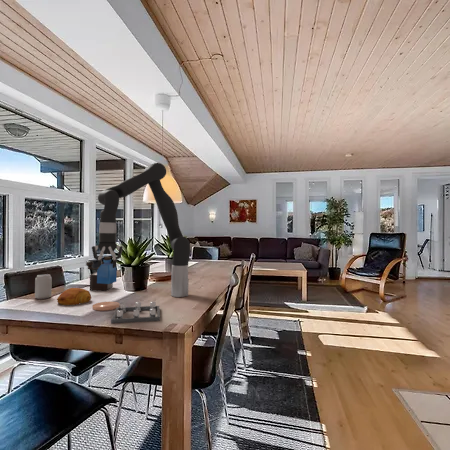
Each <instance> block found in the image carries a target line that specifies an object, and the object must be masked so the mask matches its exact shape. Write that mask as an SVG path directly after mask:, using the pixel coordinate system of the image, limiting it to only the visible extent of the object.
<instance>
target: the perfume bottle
mask: <svg viewBox="0 0 450 450" xmlns="http://www.w3.org/2000/svg"><path fill="white" fill-rule="evenodd" d="M111 258H112V256H103V259H102V262H103V264H101V265H100V267H99V268H98V267H97V268H98V269H96V270H97V283H101V284H111V283H113V284H114V283H116V282H117V275H118V274H117V272H118V269H117V266H116V267H115V268H113V263H111V262H112V259H111Z"/></svg>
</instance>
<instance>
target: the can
mask: <svg viewBox="0 0 450 450" xmlns="http://www.w3.org/2000/svg"><path fill="white" fill-rule="evenodd" d="M52 281H53V280H52V276H51V274H48V273H47V274H37V275H36V277H35V280H34V298H35V299H37V300H43V299H44V300H45V299H49V298H51V296H52V288H53V287H52V283H53V282H52Z"/></svg>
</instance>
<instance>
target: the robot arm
mask: <svg viewBox="0 0 450 450" xmlns="http://www.w3.org/2000/svg"><path fill="white" fill-rule="evenodd" d="M166 175H167V168H166V166H165V165H164V164H162V163H161V162H154V163H152V164H150V165H148V166H146V167H145V168H144V171H143V172H141V173H139V174H137V175H134V176H132V177H129V178H127V179H126V180H124V181H122V182H119V183H118V184H116V185H114V186H111V187H109V188H106V189H104V190H102V191H100V192H99V194H98V196H97V200H98V203H100V204H101V205H104V208H103V210H100V214H99V229H98V232H99V233H98V234H99V236H98V238H99V239H98V245H93V246H91V250H92V256H93V259H94V260H97V268H98V267H100V265H101V264H102V262H103V259H102V258H103V257H104V255H105V254H109V255H111V258H112V264H113V268H115V267H116V268H117V260H118V259H119V260H120V258H121V256H122V252H123V248H124V247H123V246H122V245H121V246H120V245H117V212H118V207H119V205H120V199H122V198H125V197H128V196H130V195H132V194H133V193H135V192H137V191H138V190H140V189H141V188H143V187H145V186H146V185H148V186H149V188H150V190H151V193H152V195H153V198H154V200H155V203H156V206H157V209H158V211H159V212H158V213H159V214H160V217H161V220H162V223H163V224H164V227H165V229H166V231H167V235H168V238H169V244H170V247H171V249H172V250H173V257H172V260H171V281H170V282H171V283H170V284H171V286H170V287H171V288H170V289H171V290H170V294H171V295H170V296H171V297H174V298H184V297H189V280H190V279H189V261H190V256H191V255H190V254H191V244H190V243H191V242H190V240H189V239H188V238H187V237H185V236H184V235H183V233H182V231H181V229H180V224H179V215H178V214H179V213H178V211H177V208H176V205H175V202H174V200H173V199H172V197H171V196H170V195H169V194H168V193H167V192H166V191H165V189H164V187H163V185H162V182H161V180H163V179H164V178H165V176H166ZM98 249H99V251H100V252H99V255H98V253H97V251H98ZM116 249H117V250H118V253H117V255H116V253H115V250H116Z"/></svg>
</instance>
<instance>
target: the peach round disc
mask: <svg viewBox="0 0 450 450" xmlns="http://www.w3.org/2000/svg"><path fill="white" fill-rule="evenodd" d="M117 307H120V302H118V301H101V302H95V303H94V304H92V310H94V311H99V312H101V311H102V312H105V311H113V310H114V311H115V310H116V308H117Z"/></svg>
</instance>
